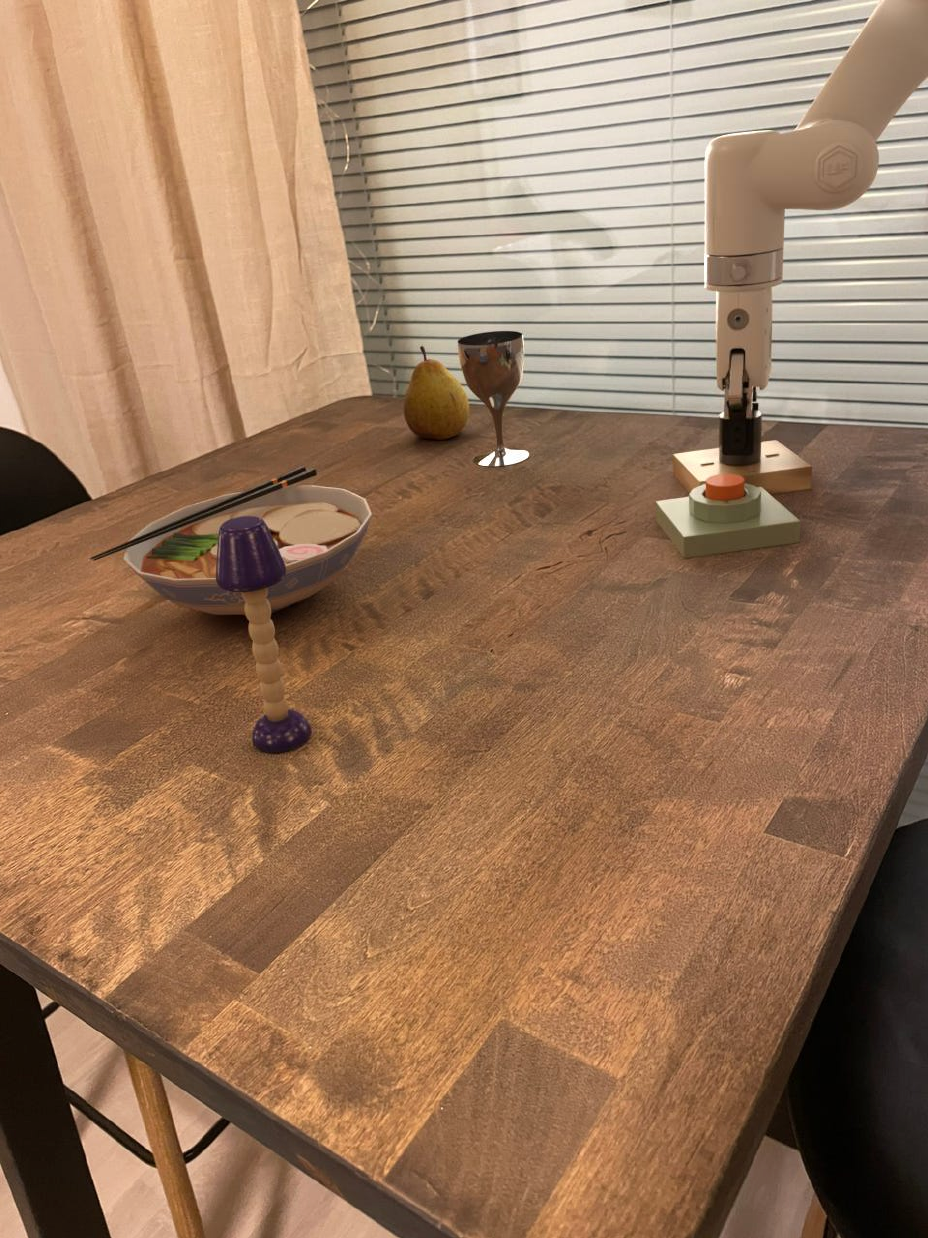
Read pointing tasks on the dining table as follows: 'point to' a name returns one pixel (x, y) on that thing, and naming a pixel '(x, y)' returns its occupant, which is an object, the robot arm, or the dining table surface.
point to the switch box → (726, 522)
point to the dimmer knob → (757, 444)
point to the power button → (725, 487)
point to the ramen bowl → (297, 519)
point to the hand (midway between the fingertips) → (740, 445)
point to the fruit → (435, 402)
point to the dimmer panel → (747, 469)
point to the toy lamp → (260, 624)
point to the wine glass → (494, 383)
